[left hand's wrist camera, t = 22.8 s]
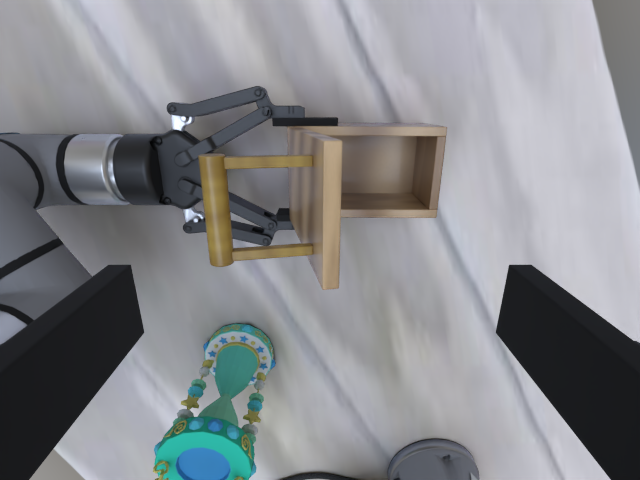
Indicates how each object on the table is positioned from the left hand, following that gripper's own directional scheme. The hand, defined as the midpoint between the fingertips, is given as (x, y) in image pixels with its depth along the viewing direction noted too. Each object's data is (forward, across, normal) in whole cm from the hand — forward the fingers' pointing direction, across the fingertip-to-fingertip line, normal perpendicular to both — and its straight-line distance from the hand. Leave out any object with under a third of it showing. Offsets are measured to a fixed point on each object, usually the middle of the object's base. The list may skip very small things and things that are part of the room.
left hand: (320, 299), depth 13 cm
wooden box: (+34, -5, 0) cm, 35 cm away
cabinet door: (+17, 0, 0) cm, 17 cm away
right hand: (+28, -2, 0) cm, 28 cm away
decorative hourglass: (+34, +12, +28) cm, 46 cm away
